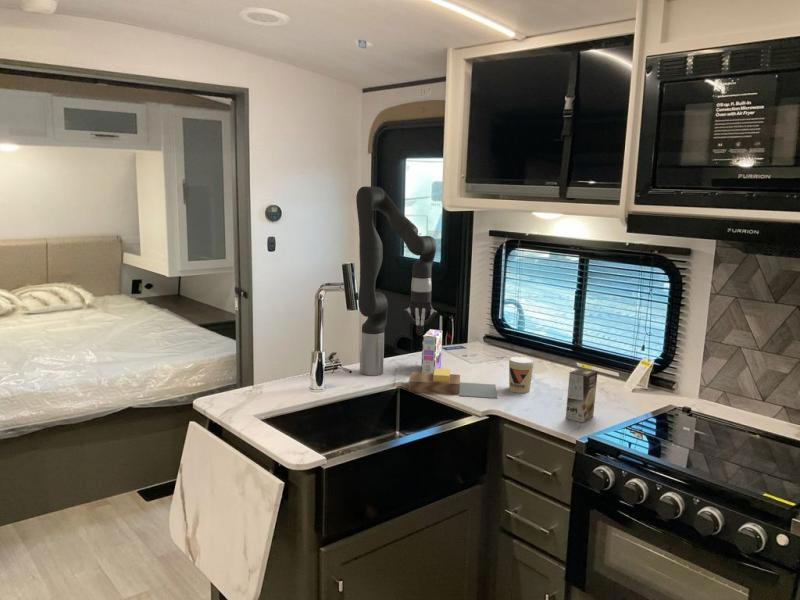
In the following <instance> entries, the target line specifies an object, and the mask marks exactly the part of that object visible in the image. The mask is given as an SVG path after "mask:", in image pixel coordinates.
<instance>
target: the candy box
mask: <svg viewBox="0 0 800 600" xmlns="http://www.w3.org/2000/svg"><path fill="white" fill-rule="evenodd" d="M421 345H422V346H421V347H422V348H421V350H422V351H421V369H420V371H421V373H434V369H435V368H440V369H441V367H442V351H443V350H442V348H443V347H442V345H443V330H442V329H441V330H440V329H433V328H432V329H431V328H430V329H429V330H428V331H426V333H424V335H423V334H422V344H421Z"/></svg>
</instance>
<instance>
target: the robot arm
mask: <svg viewBox="0 0 800 600" xmlns="http://www.w3.org/2000/svg"><path fill="white" fill-rule="evenodd" d="M355 200H356V202H355V203H356V212H357V219H358V221H357V222H358V233H359V234H358V236H359V246H358V247H359V250H358V251H359V286H358V287H359V290H358V299H357V300H358V303H357V304H358V310H359V312H360V314H361V315H362V317H365V318H366V320H365V322H363V324H362V326H361V347H360V348H361V349H360V351H359V353H360V354H359V374H360V375H366V376H380V375H383V374H384V362H385V361H384V360H385V359H384V356H385V355H384V354H385V329H386V326H387V322H388V311H389V310H388V309H389V307H388V305H389V303H388V299H387V297H386V296H385V294H384V293H382V292H379V291H376V281H377V277H378V275H379V273H380V270H381V267H382V263H383V259H384V258H383V253H384V252H383V250H384V249H383V242H382V240H381V237H380V235H379V233H378V231H377V229H376V227H375V224H374V215H373V212H374V211H378V212H380V213H382V214H383V215H384V216H385V217H386V218H387V220H388V222H389V226H390V227H391V229H392V230H393V232H394V233H395V234H396V235H397V236H398V237H399V238H401V239H402V240H403V243H404V244H405V246H406V247H407V249H408V251H409V252H410V253H412V254H413V255H415V256H419V259H418V260H417V261H415V262H413V265H412V278H411V285H410V286H411V291H410V304H409V307H408V308H405V309H404V311H403V313H404V315H405V316H406V317H407V318H408V320H409V321H410V323H411V324H413V325H415V334H417V335H418V336H423V334H424V330H425V329H424V328H425V325H429V323H430V322H431V321H432V320H433V319H434V318H435V317H436V316H437V314H438V311H437V310H435V309H434V308H433V305H432V290H433V288H432V286H433V285H432V267H433V263H434V261H435V257H436V253H437V242H436V240H435V238H434V237H433V236H431V235H421V236H420V235H418V234H419V228H418V227H417V226H416V225H415V224H414V223H413V222H412V221H411V220H409V218H408V217H406V216H405V215H404V214H403V213H402V212H401V210H400V209H399V208H398V207H397V206H396V204H395V203H394V202H393V200H392V198H390V196H389V195H388V194H387V192H386V191H385V190H384V189H383V188H381V187H379V186H362V187H360V188H359V189H358V190H357V193H356V198H355ZM411 313H413V315H414V316H415V318H414V317H413V316H412V314H411ZM429 313H430V315H429V316H428V318H426V316H427V315H428V314H429ZM425 318H426V320H425Z"/></svg>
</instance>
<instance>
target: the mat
mask: <svg viewBox="0 0 800 600" xmlns="http://www.w3.org/2000/svg"><path fill="white" fill-rule="evenodd" d="M458 395H459V397H464V398H466V397H467V398H481V399H482V398H484V399H496V400H497V399H499V397H498V392H497V385H496V384H493V383H475V382H463V381H462V382H461V381H460V392H459V394H458Z"/></svg>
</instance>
